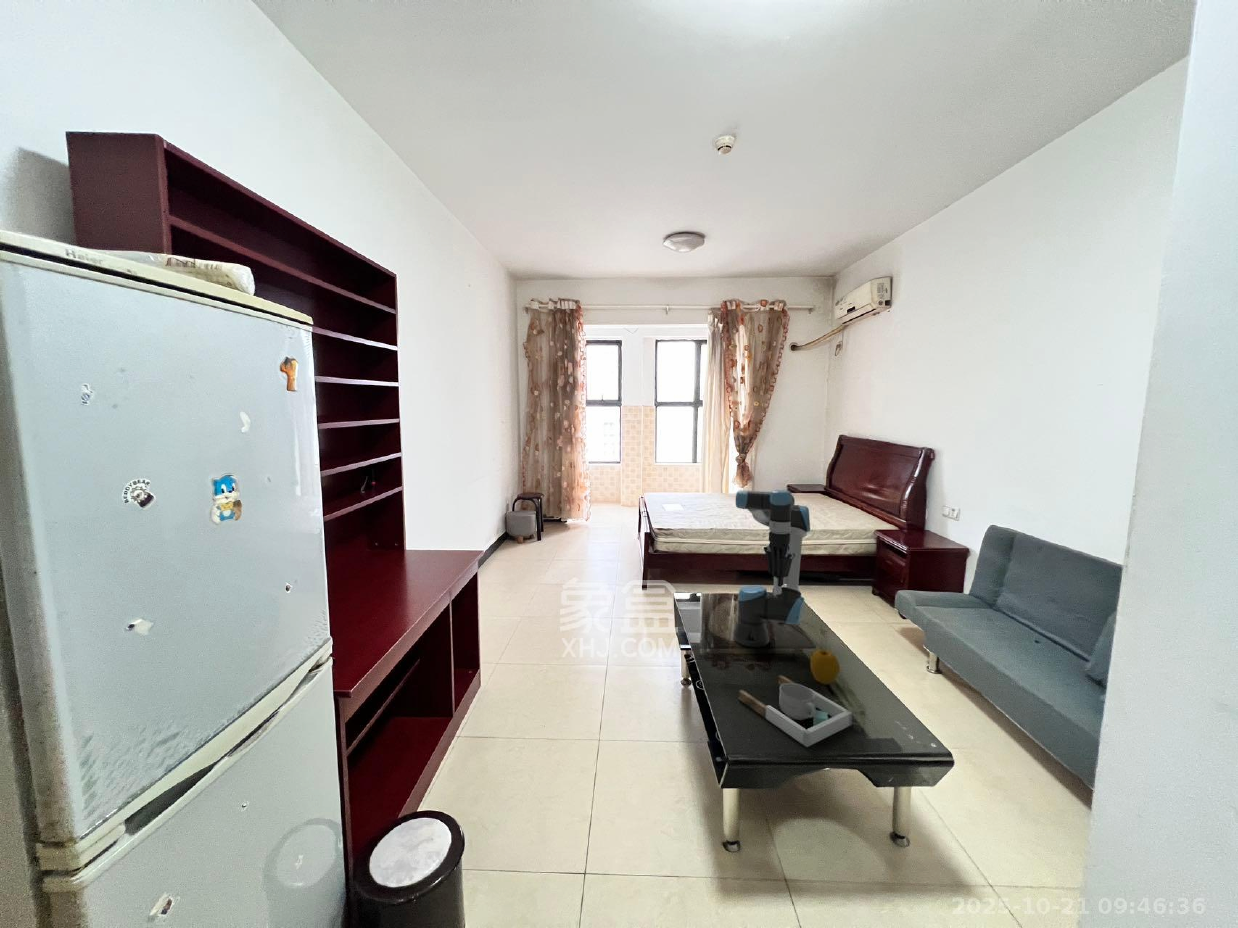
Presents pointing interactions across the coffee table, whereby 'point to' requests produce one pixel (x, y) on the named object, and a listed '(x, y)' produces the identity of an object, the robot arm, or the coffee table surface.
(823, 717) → the block
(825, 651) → the apple
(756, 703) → the slot rails
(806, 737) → the grey u-shaped frame
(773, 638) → the coffee table surface
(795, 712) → the teacup
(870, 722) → the coffee table surface
